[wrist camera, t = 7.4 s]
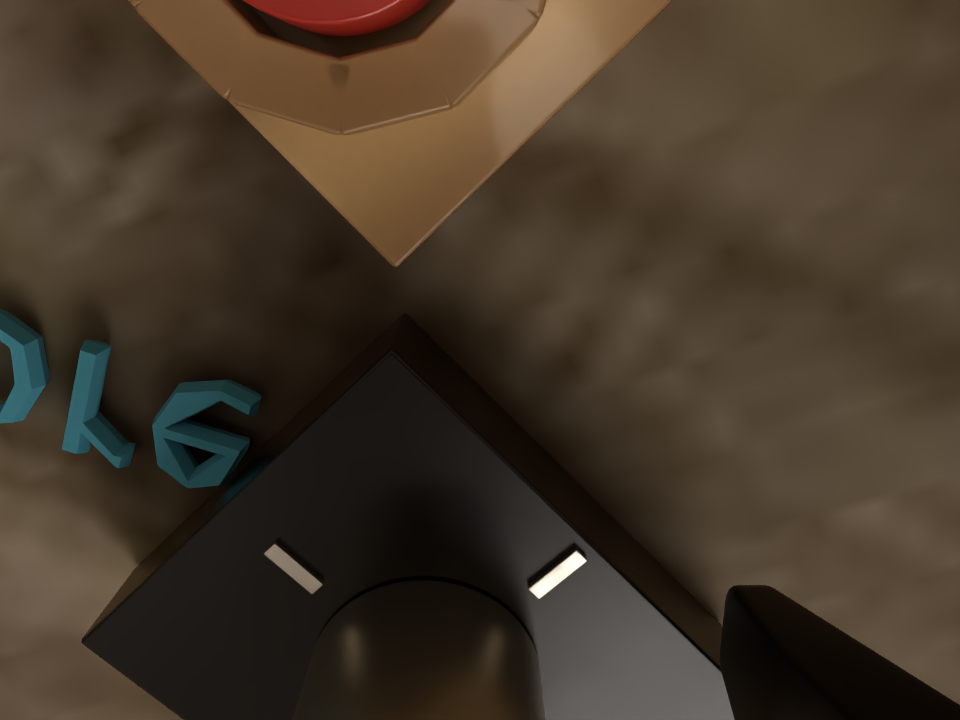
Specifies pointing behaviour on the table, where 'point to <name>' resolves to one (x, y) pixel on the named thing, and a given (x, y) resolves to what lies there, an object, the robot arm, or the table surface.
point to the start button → (340, 14)
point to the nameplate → (95, 428)
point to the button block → (401, 94)
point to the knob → (422, 659)
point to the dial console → (406, 556)
